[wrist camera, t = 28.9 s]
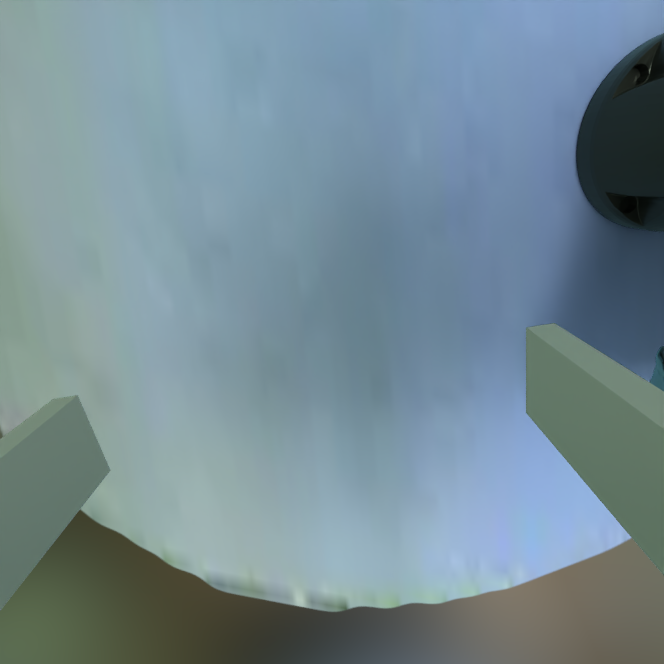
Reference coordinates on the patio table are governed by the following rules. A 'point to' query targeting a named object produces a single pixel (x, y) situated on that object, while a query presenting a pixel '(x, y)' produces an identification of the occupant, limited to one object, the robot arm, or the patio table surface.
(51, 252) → the patio table surface
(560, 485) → the patio table surface
